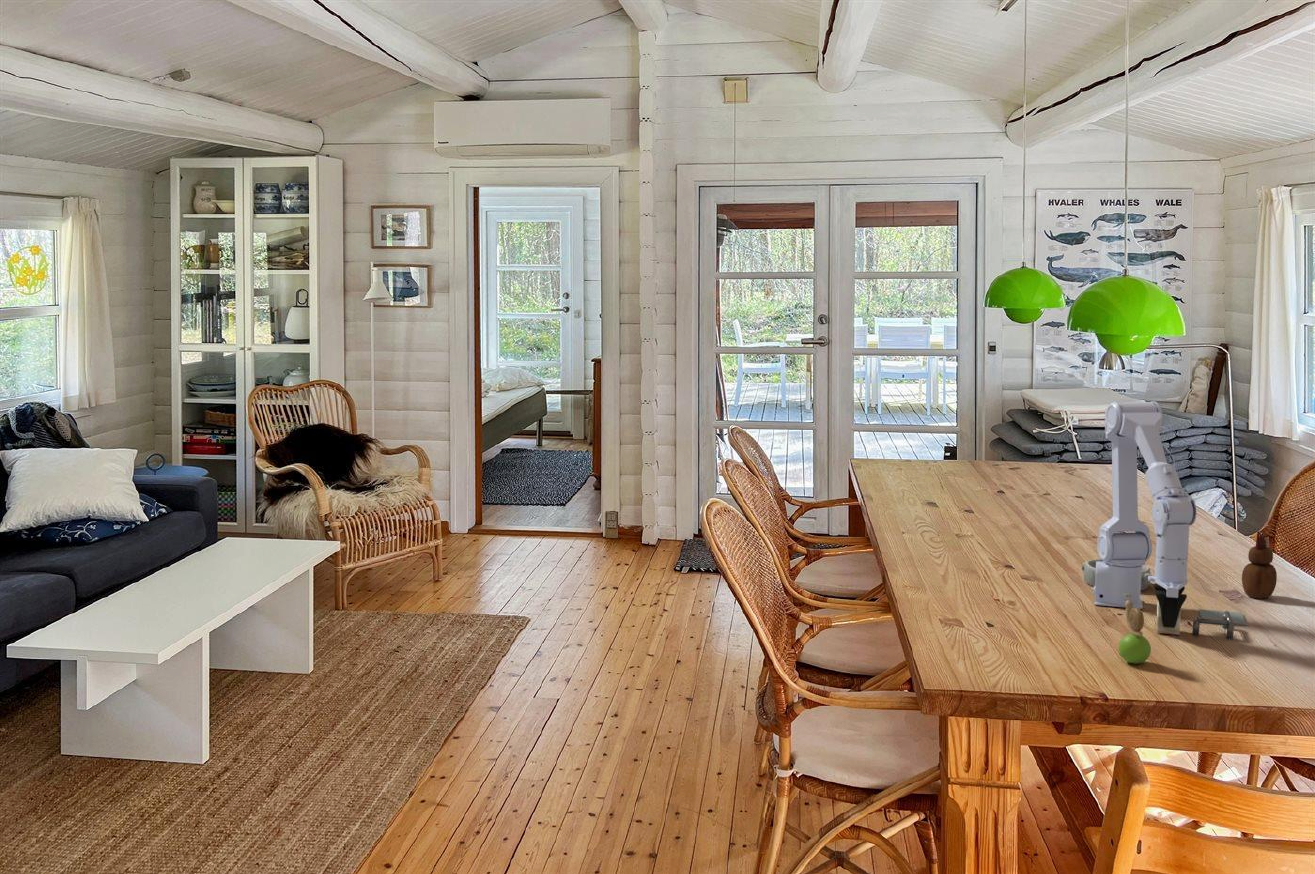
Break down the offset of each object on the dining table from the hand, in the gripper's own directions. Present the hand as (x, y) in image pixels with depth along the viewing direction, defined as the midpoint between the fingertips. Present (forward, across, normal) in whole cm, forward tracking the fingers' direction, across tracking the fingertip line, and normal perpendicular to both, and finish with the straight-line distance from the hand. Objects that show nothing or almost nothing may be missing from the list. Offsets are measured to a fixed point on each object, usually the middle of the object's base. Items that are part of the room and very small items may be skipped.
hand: (1168, 623), depth 219 cm
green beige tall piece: (+2, +21, -7) cm, 22 cm away
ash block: (+1, 0, 0) cm, 1 cm away
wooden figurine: (+2, -34, +20) cm, 40 cm away
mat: (+2, -14, +11) cm, 18 cm away
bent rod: (+2, -4, +8) cm, 9 cm away
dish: (+2, -35, -9) cm, 36 cm away
